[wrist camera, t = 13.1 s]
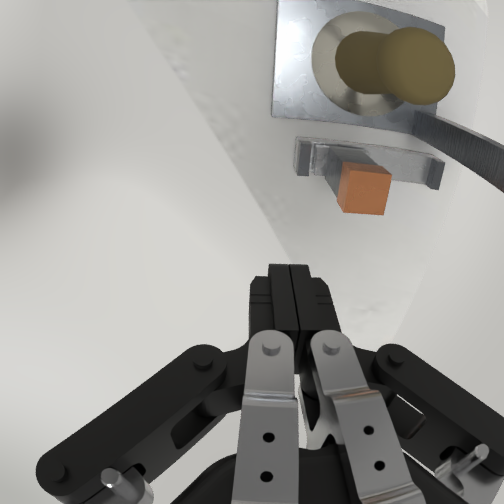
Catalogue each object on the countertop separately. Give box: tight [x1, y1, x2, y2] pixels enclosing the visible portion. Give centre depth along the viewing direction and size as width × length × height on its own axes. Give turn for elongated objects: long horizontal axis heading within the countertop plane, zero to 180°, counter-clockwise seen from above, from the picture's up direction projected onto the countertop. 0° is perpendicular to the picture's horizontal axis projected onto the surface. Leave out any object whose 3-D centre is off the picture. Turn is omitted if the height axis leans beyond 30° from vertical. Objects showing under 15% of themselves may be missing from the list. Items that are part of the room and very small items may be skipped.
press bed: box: [271, 0, 504, 193], centre depth 17 cm, size 16×12×18 cm
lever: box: [312, 144, 392, 215], centre depth 25 cm, size 5×3×8 cm, turn 88°
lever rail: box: [294, 137, 445, 190], centre depth 29 cm, size 15×3×3 cm, turn 88°
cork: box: [335, 27, 455, 105], centre depth 19 cm, size 6×6×11 cm
